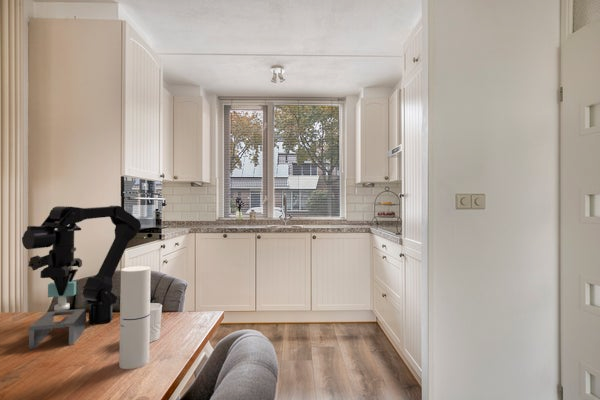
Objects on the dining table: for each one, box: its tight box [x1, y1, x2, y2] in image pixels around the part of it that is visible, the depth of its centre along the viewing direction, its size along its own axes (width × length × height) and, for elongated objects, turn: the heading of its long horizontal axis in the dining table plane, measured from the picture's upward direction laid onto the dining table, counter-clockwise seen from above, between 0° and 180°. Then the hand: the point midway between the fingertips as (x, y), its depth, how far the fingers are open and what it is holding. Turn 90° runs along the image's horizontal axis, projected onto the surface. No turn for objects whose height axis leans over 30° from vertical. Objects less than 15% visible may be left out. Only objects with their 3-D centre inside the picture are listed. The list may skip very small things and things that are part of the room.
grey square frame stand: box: [28, 308, 87, 350], centre depth 105 cm, size 14×11×6 cm
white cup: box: [149, 302, 163, 343], centre depth 106 cm, size 8×8×10 cm
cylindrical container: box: [118, 265, 152, 370], centre depth 90 cm, size 7×7×25 cm
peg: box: [47, 280, 77, 312], centre depth 108 cm, size 7×4×8 cm, turn 109°
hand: (62, 294), depth 108 cm, fingers closed on peg, 2 cm apart
